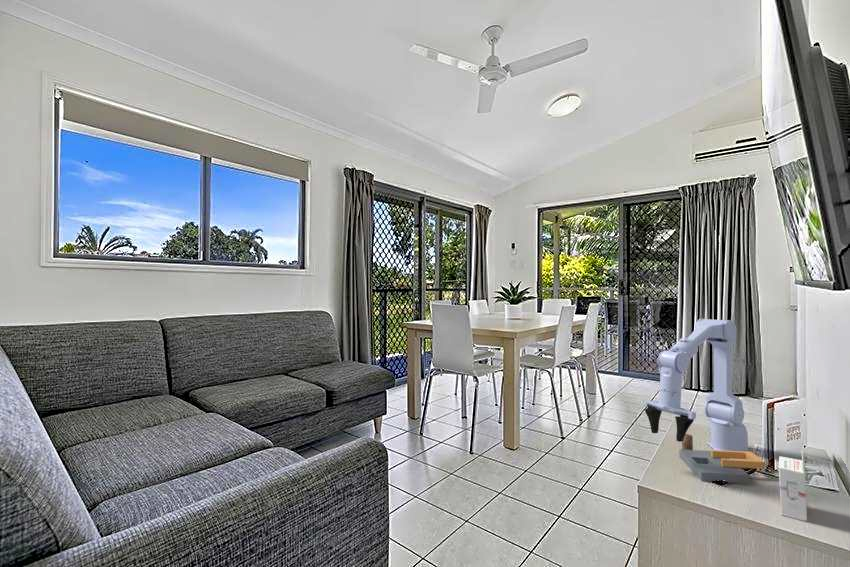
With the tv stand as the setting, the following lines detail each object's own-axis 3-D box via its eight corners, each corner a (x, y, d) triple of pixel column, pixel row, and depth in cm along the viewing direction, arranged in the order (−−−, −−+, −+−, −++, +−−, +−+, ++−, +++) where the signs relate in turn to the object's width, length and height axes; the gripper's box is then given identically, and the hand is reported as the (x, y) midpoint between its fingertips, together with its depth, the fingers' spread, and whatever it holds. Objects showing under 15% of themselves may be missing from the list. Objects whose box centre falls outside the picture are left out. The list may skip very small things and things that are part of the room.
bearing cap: (751, 458, 125) (750, 451, 125) (765, 469, 118) (765, 462, 118) (711, 456, 127) (711, 449, 127) (722, 466, 120) (722, 459, 120)
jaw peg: (690, 452, 137) (690, 434, 137) (694, 456, 134) (694, 437, 134) (680, 451, 137) (680, 433, 137) (684, 455, 134) (683, 437, 134)
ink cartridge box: (779, 500, 107) (778, 443, 107) (805, 506, 103) (804, 448, 103) (779, 515, 100) (778, 455, 100) (807, 522, 97) (806, 460, 97)
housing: (721, 459, 131) (720, 451, 131) (749, 484, 115) (749, 475, 115) (679, 457, 133) (679, 449, 133) (701, 480, 118) (701, 472, 118)
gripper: (639, 385, 129) (636, 429, 128) (687, 396, 116) (683, 445, 115) (653, 386, 132) (650, 429, 131) (701, 396, 120) (698, 444, 119)
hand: (666, 436), depth 124 cm, fingers open, 7 cm apart
